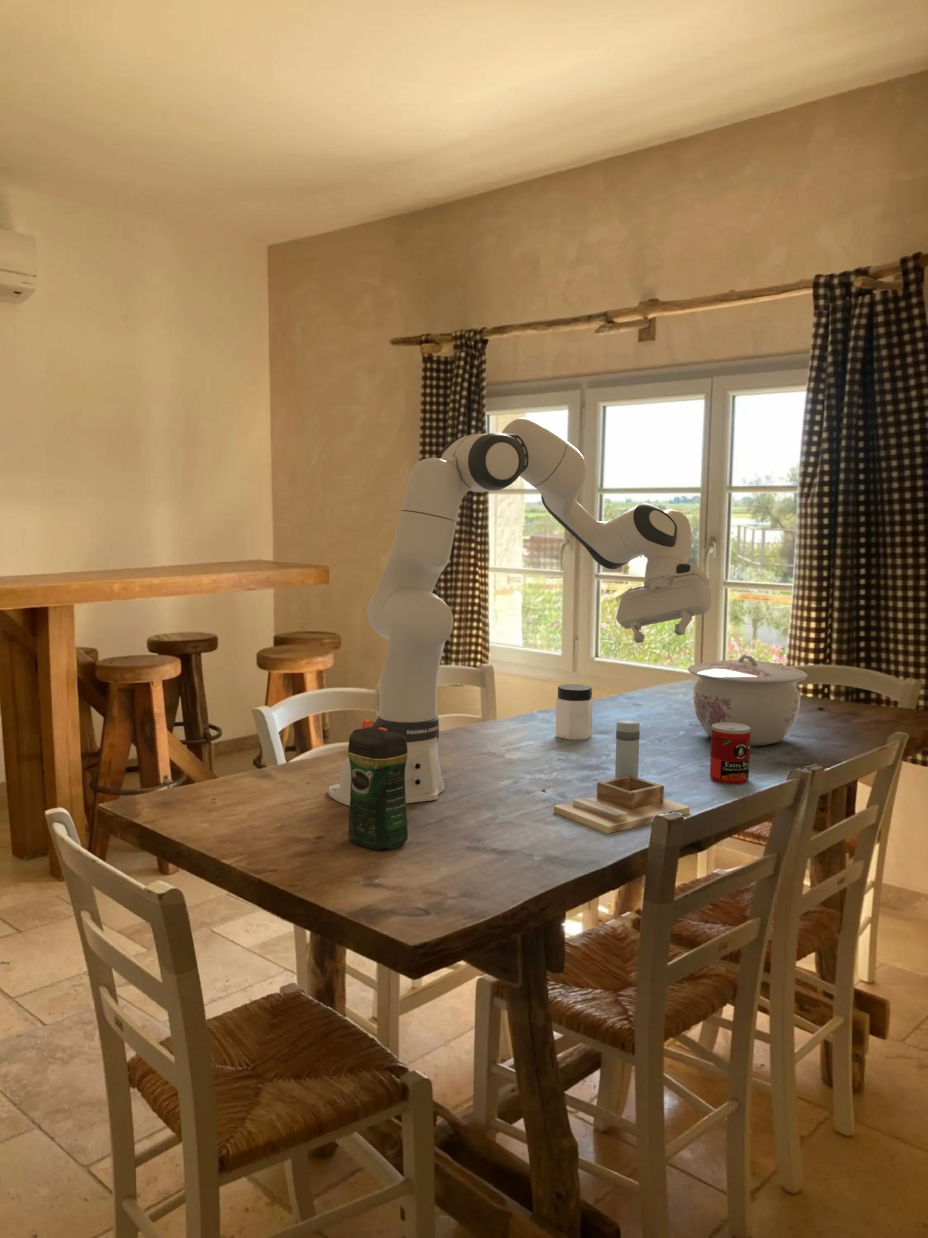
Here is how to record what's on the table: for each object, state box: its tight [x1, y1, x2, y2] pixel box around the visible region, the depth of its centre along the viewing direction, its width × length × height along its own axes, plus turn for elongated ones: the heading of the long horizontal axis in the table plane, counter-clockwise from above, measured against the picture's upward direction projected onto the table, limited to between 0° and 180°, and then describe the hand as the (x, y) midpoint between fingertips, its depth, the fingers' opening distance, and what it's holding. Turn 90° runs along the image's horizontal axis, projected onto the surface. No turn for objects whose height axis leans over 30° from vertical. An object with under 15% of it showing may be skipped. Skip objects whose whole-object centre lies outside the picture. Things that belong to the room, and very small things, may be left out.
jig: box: [553, 775, 691, 834], centre depth 173 cm, size 20×14×4 cm
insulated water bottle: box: [614, 720, 641, 779], centre depth 189 cm, size 4×4×13 cm
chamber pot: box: [687, 653, 809, 747], centre depth 230 cm, size 28×28×21 cm
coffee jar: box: [347, 727, 409, 850], centre depth 156 cm, size 10×8×19 cm
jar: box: [555, 683, 594, 741], centre depth 233 cm, size 9×8×12 cm
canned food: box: [709, 722, 751, 785], centre depth 196 cm, size 8×8×11 cm
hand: (658, 637), depth 196 cm, fingers open, 8 cm apart
